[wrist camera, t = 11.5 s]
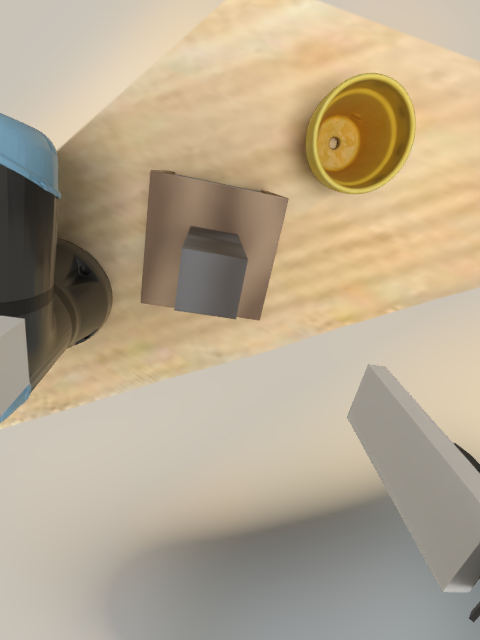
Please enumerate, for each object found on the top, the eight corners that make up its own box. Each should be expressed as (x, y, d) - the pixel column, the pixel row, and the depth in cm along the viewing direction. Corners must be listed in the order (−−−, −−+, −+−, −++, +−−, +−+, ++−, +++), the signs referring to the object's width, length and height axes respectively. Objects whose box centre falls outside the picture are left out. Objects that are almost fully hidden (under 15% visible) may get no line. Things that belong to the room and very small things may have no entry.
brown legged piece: (158, 269, 45) (113, 351, 24) (168, 170, 40) (121, 169, 19) (248, 284, 47) (275, 371, 26) (267, 191, 42) (321, 210, 21)
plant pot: (274, 134, 40) (292, 124, 31) (347, 73, 38) (389, 43, 29) (317, 206, 43) (345, 215, 35) (386, 154, 41) (434, 149, 33)
